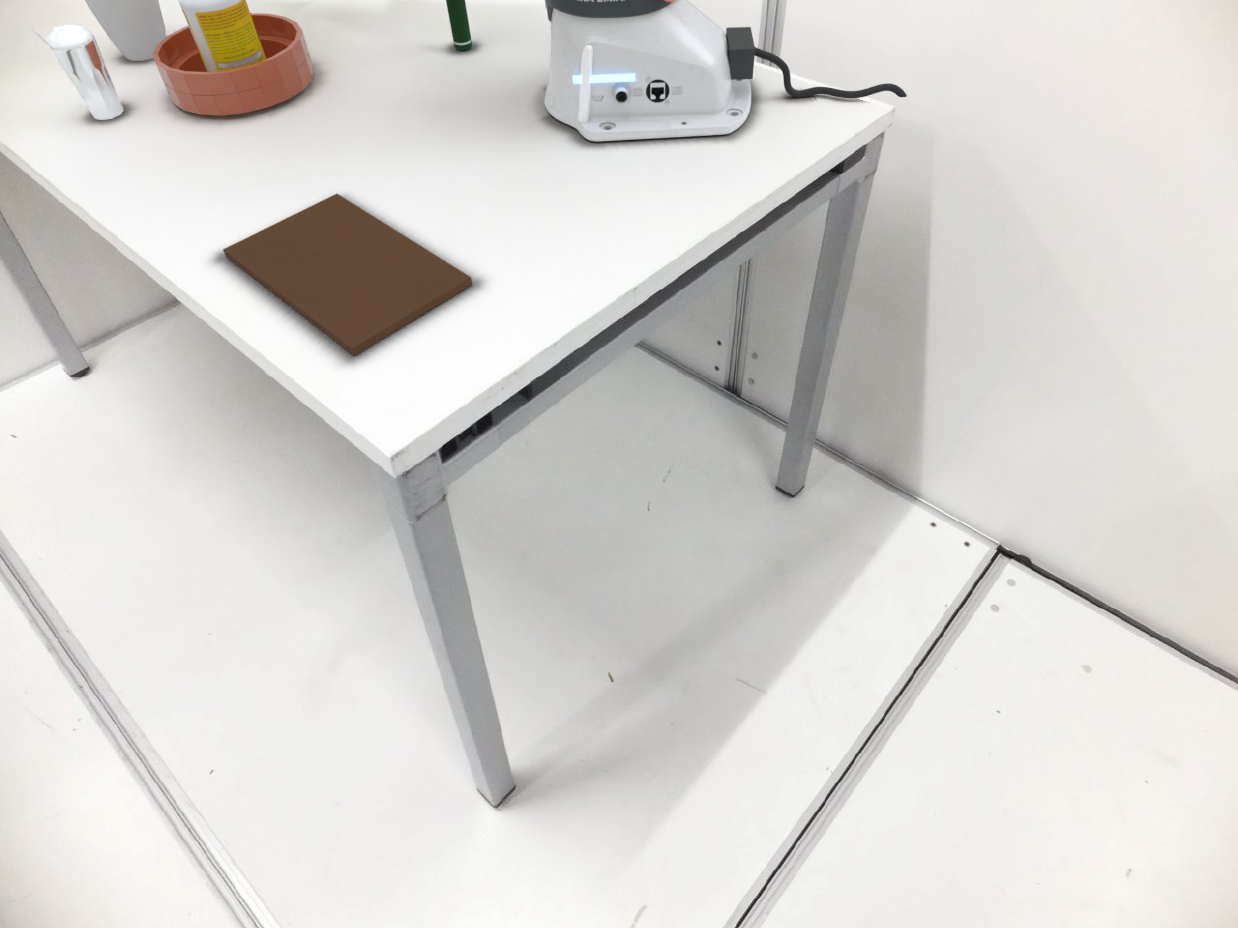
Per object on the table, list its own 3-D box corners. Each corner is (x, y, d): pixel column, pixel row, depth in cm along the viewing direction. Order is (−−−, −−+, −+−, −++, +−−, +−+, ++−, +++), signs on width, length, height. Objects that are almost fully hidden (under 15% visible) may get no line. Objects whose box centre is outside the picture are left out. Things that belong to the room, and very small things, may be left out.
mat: (472, 285, 70) (471, 277, 69) (354, 356, 64) (351, 348, 64) (339, 200, 79) (336, 193, 79) (226, 257, 74) (222, 249, 73)
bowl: (335, 58, 100) (322, 14, 96) (281, 122, 90) (264, 76, 86) (213, 54, 102) (196, 11, 98) (146, 117, 92) (124, 71, 88)
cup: (191, 39, 106) (155, -49, 98) (162, 67, 100) (122, -24, 93) (131, 38, 106) (91, -49, 99) (99, 66, 101) (54, -24, 93)
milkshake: (72, 120, 92) (19, 25, 84) (114, 100, 95) (67, 7, 87) (96, 130, 90) (44, 34, 83) (138, 110, 93) (92, 15, 85)
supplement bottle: (284, 77, 96) (243, -46, 86) (239, 100, 93) (190, -26, 83) (247, 65, 99) (202, -57, 89) (201, 87, 95) (149, -37, 85)
